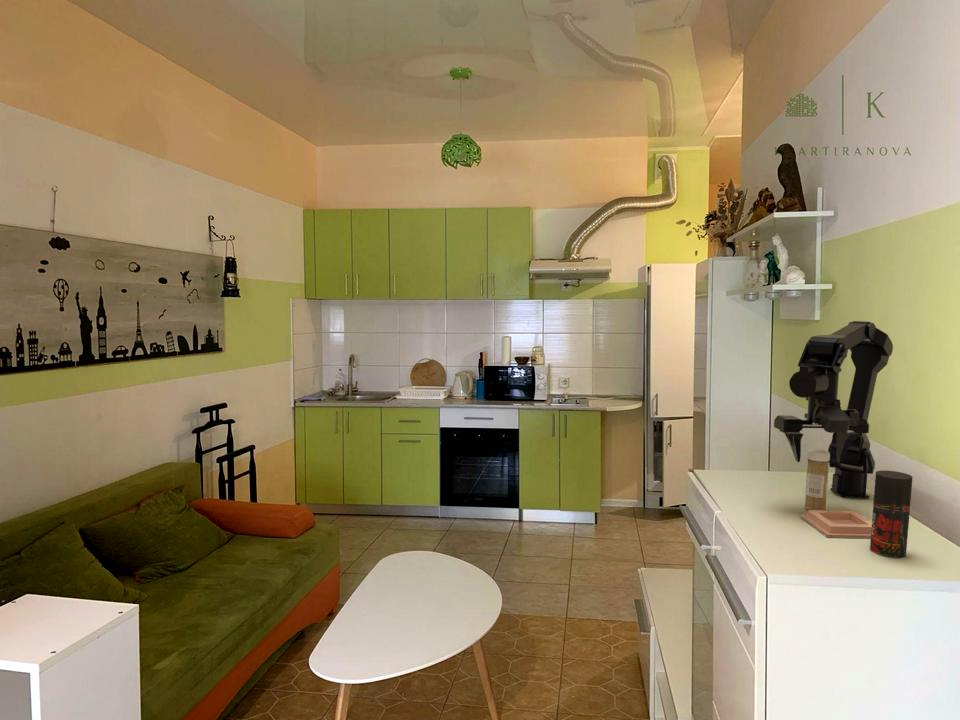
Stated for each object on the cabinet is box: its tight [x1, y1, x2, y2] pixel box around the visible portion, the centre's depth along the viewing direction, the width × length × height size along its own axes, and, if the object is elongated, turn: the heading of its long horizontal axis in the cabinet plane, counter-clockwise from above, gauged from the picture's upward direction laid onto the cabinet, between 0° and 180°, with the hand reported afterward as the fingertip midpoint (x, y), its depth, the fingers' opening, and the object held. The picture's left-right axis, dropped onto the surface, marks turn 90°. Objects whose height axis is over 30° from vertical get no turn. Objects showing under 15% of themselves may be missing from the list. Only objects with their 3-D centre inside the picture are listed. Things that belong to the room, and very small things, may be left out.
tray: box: [799, 509, 872, 539], centre depth 143 cm, size 12×12×2 cm
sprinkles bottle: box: [804, 448, 830, 511], centre depth 155 cm, size 5×5×13 cm
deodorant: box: [869, 470, 914, 559], centre depth 130 cm, size 6×6×15 cm
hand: (818, 462), depth 154 cm, fingers open, 9 cm apart
